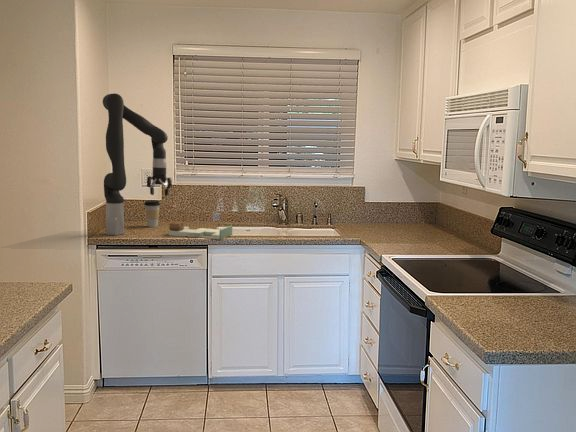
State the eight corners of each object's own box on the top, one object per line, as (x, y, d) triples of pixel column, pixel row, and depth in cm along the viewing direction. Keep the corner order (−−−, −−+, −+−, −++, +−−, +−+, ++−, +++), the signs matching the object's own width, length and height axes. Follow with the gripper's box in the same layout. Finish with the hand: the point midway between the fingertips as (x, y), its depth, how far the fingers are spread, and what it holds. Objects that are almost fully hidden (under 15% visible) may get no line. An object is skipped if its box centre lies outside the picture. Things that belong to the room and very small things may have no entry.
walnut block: (179, 231, 323) (179, 223, 322) (169, 230, 324) (169, 223, 324) (184, 229, 328) (184, 222, 328) (174, 228, 330) (174, 221, 329)
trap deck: (221, 239, 315) (221, 230, 315) (168, 235, 324) (168, 226, 323) (232, 234, 331) (232, 225, 330) (181, 230, 339) (181, 222, 338)
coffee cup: (161, 227, 348) (161, 202, 346) (145, 228, 345) (145, 202, 342) (159, 224, 357) (158, 200, 355) (143, 225, 353) (142, 200, 351)
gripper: (144, 166, 331) (144, 195, 333) (168, 167, 327) (167, 196, 329) (151, 165, 338) (151, 194, 340) (173, 166, 334) (173, 195, 337)
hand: (159, 195), depth 335 cm, fingers open, 8 cm apart
